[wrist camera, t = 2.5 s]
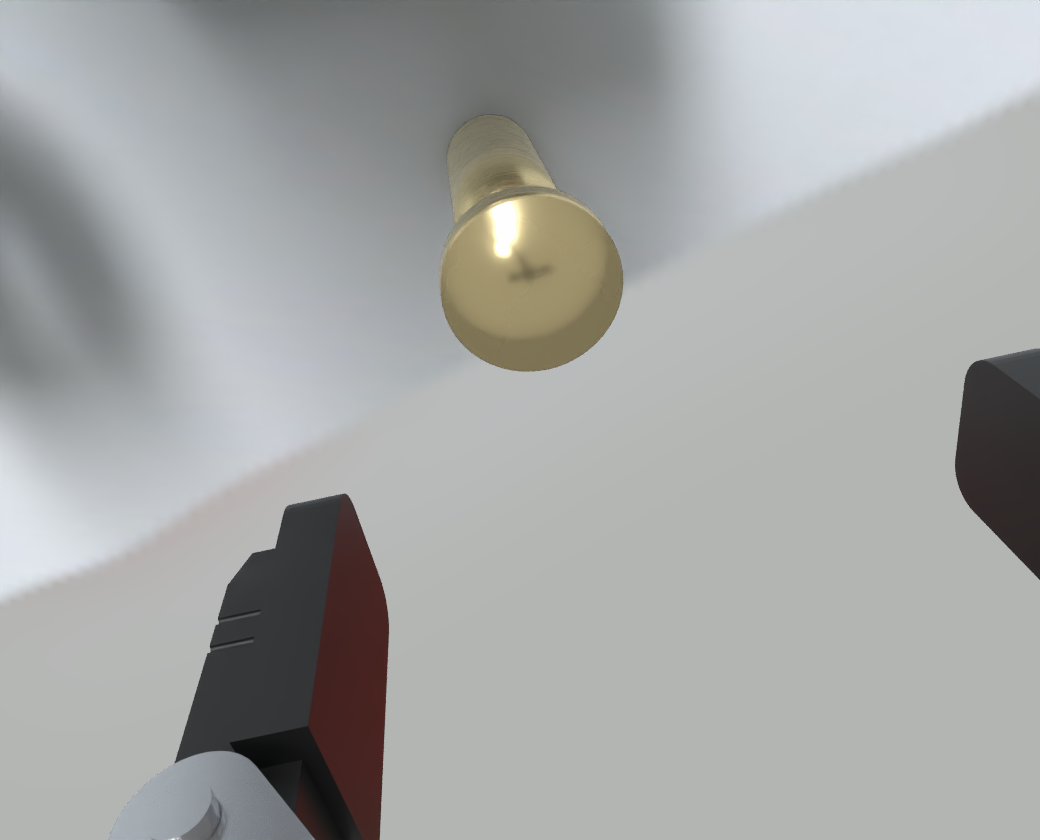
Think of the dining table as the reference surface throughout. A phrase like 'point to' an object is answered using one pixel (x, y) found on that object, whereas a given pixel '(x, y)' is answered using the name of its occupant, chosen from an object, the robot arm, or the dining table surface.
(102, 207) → the dining table surface
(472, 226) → the pin
